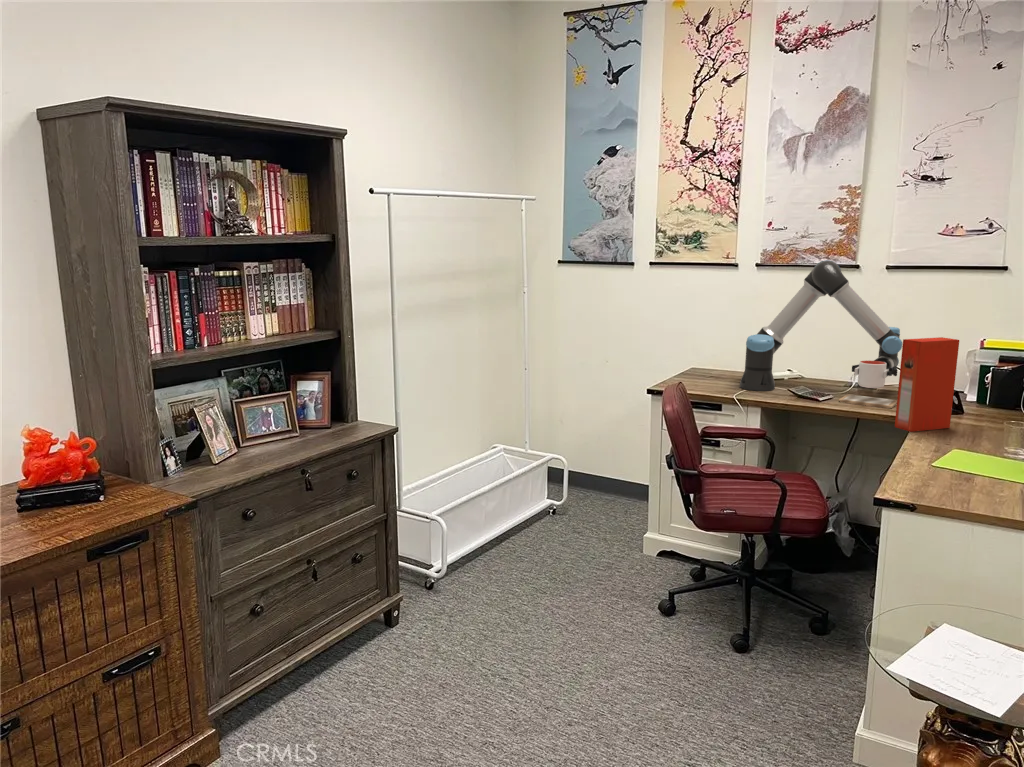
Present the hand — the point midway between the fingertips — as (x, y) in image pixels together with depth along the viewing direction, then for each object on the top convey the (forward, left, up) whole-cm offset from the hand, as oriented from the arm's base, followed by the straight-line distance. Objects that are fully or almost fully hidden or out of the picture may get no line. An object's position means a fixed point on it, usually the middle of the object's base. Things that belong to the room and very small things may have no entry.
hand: (869, 373), depth 306 cm
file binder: (+25, -28, -13) cm, 40 cm away
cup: (0, +4, -6) cm, 8 cm away
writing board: (0, +4, -13) cm, 13 cm away
